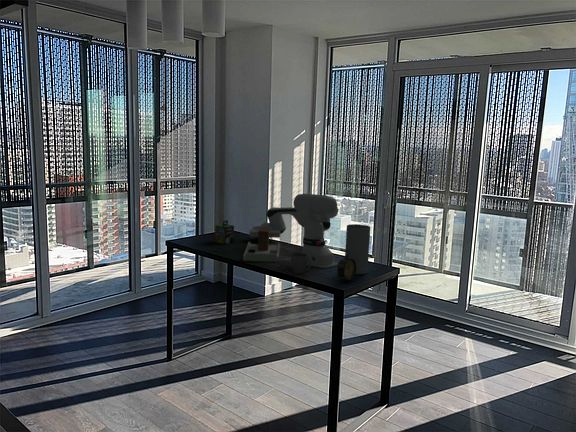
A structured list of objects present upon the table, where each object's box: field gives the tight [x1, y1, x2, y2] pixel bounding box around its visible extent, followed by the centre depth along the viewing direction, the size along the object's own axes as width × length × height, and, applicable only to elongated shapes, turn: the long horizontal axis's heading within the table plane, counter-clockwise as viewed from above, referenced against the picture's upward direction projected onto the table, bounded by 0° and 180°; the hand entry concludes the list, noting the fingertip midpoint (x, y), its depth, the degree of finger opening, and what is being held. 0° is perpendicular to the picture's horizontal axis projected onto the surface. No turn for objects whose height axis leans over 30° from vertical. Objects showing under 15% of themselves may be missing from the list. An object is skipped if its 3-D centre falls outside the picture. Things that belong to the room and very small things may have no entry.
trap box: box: [242, 241, 281, 263], centre depth 294 cm, size 36×20×4 cm, turn 0°
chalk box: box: [214, 219, 235, 245], centre depth 320 cm, size 9×9×15 cm
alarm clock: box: [336, 250, 356, 284], centre depth 243 cm, size 11×5×16 cm, turn 138°
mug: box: [290, 252, 312, 275], centre depth 256 cm, size 12×9×10 cm
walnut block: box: [257, 227, 270, 251], centre depth 302 cm, size 14×6×12 cm, turn 0°
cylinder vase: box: [344, 223, 371, 275], centre depth 261 cm, size 12×12×25 cm
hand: (264, 236), depth 312 cm, fingers closed
